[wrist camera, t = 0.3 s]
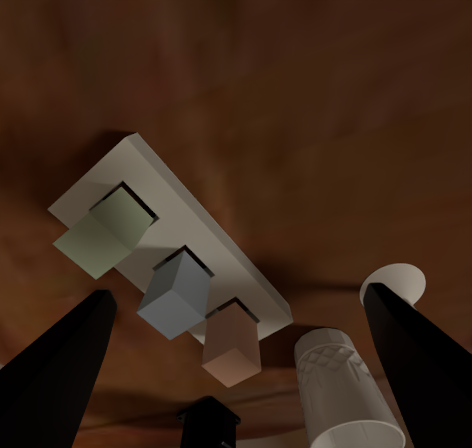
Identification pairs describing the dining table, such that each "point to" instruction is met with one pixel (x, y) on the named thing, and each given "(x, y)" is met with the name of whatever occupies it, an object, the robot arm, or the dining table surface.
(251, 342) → the terracotta button
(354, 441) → the white cup
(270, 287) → the button board
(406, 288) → the champagne flute
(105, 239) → the pale green block
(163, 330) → the grey rectangular block
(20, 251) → the dining table surface
